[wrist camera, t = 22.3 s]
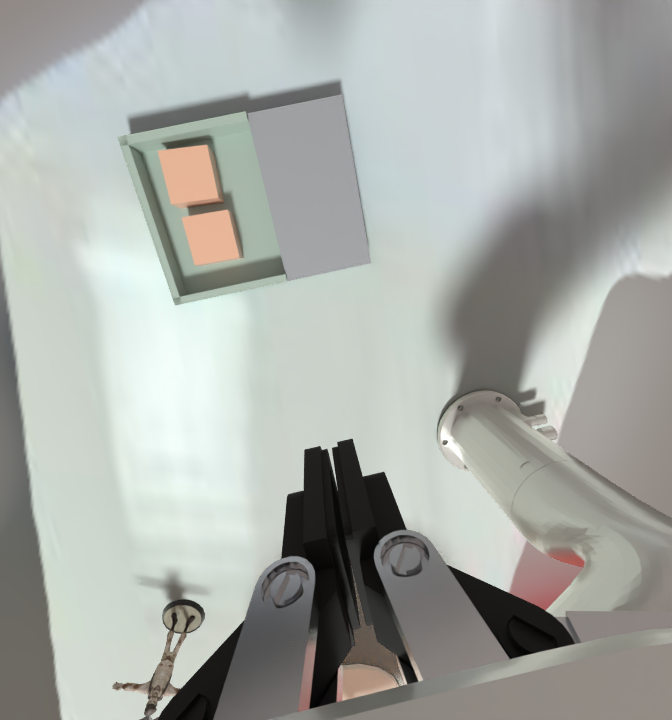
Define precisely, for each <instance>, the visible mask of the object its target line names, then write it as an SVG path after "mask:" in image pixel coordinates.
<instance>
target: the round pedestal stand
mask: <svg viewBox="0 0 672 720" xmlns="http://www.w3.org/2000/svg"><path fill="white" fill-rule="evenodd" d="M342 668H343V701H344V700H348V699H352V698H355V697H359V696H363V695H367V694H371V693H375V692H379V691H383V690H387V689H391V688H395V687H399V685H398V684H397V682H396V680H395V678H394V677H393V676H392V675H390V674H389V673H387V672H386V671H384V670H382V669H381V668H379V667H374V666H369V665H364V664H351V665H342Z"/></svg>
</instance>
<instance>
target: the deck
mask: <svg viewBox="0 0 672 720" xmlns="http://www.w3.org/2000/svg"><path fill="white" fill-rule="evenodd" d="M247 117H248V121H249V126H250V130H251V134H252V138H253V142H254V146H255V150H256V154H257V159H258V163H259V167H260V171H261V175H262V179H263V183H264V187H265V192H266V196H267V200H268V204H269V208H270V212H271V216H272V220H273V224H274V229H275V233H276V237H277V241H278V245H279V249H280V253H281V257H282V262H283V266H284V270H285V274H286V278H287V281H290V280H294V279H299V278H303V277H308V276H313V275H317V274H322V273H327V272H331V271H336V270H340V269H345V268H350V267H354V266H359V265H363V264H368V263H371V261H370V255H369V249H368V243H367V238H366V232H365V226H364V220H363V214H362V208H361V202H360V197H359V191H358V185H357V179H356V173H355V167H354V161H353V156H352V150H351V144H350V138H349V132H348V126H347V120H346V115H345V109H344V103H343V97H342V94H340V95H335V96H330V97H326V98H321V99H316V100H311V101H306V102H301V103H296V104H291V105H286V106H281V107H276V108H271V109H266V110H261V111H256V112H251V113H247Z"/></svg>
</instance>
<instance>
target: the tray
mask: <svg viewBox="0 0 672 720" xmlns="http://www.w3.org/2000/svg"><path fill="white" fill-rule="evenodd" d="M118 140H119V143H120V146H121V149H122V152H123V155H124V158H125V161H126V163H127V166H128V169H129V172H130V175H131V178H132V181H133V184H134V187H135V190H136V193H137V196H138V199H139V201H140V204H141V207H142V210H143V213H144V216H145V219H146V222H147V225H148V228H149V231H150V234H151V237H152V239H153V242H154V245H155V248H156V251H157V254H158V257H159V260H160V263H161V266H162V269H163V272H164V275H165V277H166V280H167V283H168V286H169V289H170V292H171V295H172V298H173V301H174V304H175V305H179V304H184V303H188V302H193V301H197V300H202V299H207V298H211V297H216V296H221V295H225V294H230V293H234V292H239V291H244V290H248V289H253V288H257V287H262V286H267V285H271V284H276V283H281V282H285V281H287V278H286V274H285V270H284V266H283V262H282V257H281V253H280V249H279V245H278V241H277V237H276V233H275V229H274V224H273V220H272V216H271V212H270V208H269V204H268V200H267V196H266V192H265V187H264V183H263V179H262V175H261V171H260V167H259V163H258V159H257V154H256V150H255V146H254V142H253V138H252V134H251V130H250V126H249V121H248V117H247V113H246V111H244V112H239V113H234V114H229V115H224V116H219V117H214V118H209V119H204V120H199V121H194V122H189V123H184V124H179V125H174V126H170V127H165V128H160V129H155V130H150V131H145V132H140V133H135V134H130V135H125V136H120V137H118ZM200 145H208V146H209V148H210V149H211V150H212V152H213V153H214V156H215V161H216V166H217V170H218V175H219V180H220V184H221V189H222V194H223V199H224V203H219V204H211V205H204V206H197V207H189V208H182V209H180V208H178V207H176V206H174V205H172V204H171V202H170V198H169V194H168V190H167V186H166V182H165V178H164V174H163V170H162V166H161V163H160V159H159V155H158V151H160V150H168V149H176V148H184V147H192V146H200ZM222 210H229V211H230V212H232V213H233V215H234V219H235V224H236V228H237V232H238V236H239V240H240V244H241V249H242V253H243V257H244V259H239V260H233V261H227V262H222V263H216V264H210V265H204V266H195V264H194V261H193V257H192V253H191V250H190V246H189V243H188V239H187V236H186V232H185V228H184V225H183V221H182V218H181V217H187V216H193V215H198V214H204V213H210V212H216V211H222Z"/></svg>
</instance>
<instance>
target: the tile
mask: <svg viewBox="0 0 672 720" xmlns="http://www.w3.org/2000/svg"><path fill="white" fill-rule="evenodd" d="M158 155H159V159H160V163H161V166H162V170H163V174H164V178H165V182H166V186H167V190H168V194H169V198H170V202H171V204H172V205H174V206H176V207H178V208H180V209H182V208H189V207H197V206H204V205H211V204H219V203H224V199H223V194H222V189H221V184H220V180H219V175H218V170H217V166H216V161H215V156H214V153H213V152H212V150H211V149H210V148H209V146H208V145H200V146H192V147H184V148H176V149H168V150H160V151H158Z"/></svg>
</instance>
